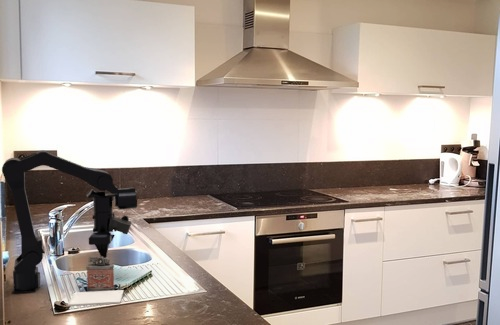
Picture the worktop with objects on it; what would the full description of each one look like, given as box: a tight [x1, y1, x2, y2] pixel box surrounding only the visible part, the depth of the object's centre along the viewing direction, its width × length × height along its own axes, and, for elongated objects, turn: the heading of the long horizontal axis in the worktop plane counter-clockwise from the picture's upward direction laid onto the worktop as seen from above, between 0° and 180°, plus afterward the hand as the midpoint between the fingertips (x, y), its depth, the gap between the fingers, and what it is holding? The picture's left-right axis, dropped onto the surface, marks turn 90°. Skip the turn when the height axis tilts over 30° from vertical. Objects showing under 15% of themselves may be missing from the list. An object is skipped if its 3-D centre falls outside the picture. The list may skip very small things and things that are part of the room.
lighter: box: [86, 255, 115, 292], centre depth 146 cm, size 8×3×10 cm, turn 92°
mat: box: [67, 289, 125, 307], centre depth 139 cm, size 14×9×1 cm, turn 99°
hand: (104, 259), depth 154 cm, fingers closed
